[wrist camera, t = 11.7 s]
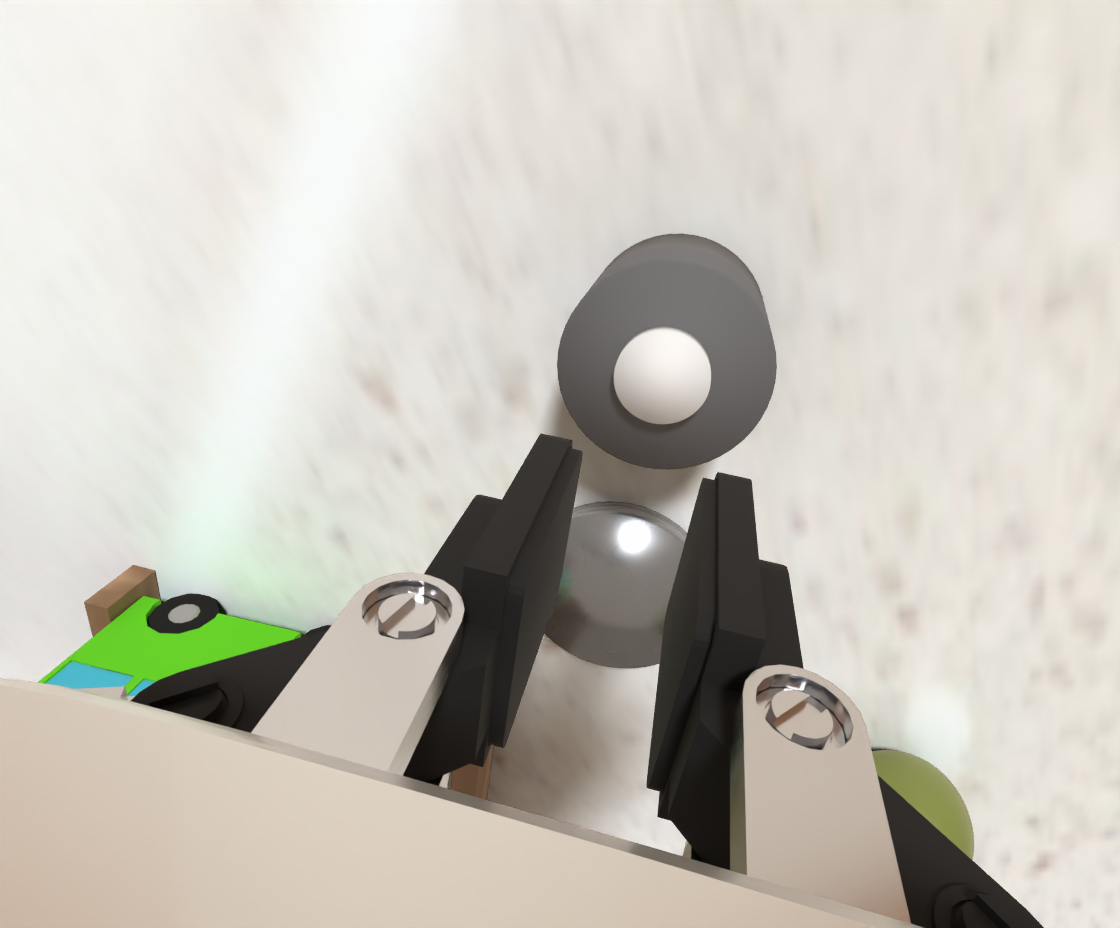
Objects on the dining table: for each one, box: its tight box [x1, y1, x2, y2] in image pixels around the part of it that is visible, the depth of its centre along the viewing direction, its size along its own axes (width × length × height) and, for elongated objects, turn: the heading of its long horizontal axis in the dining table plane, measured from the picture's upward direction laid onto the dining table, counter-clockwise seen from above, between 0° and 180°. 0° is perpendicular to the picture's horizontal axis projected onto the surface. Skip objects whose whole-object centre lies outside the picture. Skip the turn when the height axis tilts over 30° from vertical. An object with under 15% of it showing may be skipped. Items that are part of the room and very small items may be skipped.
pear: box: [872, 750, 974, 860], centre depth 29 cm, size 6×5×10 cm
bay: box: [84, 565, 494, 800], centre depth 35 cm, size 19×15×3 cm
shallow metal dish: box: [544, 502, 687, 668], centre depth 28 cm, size 8×8×1 cm
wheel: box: [557, 234, 777, 469], centre depth 21 cm, size 6×6×6 cm
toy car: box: [38, 594, 332, 696], centre depth 31 cm, size 10×13×10 cm
